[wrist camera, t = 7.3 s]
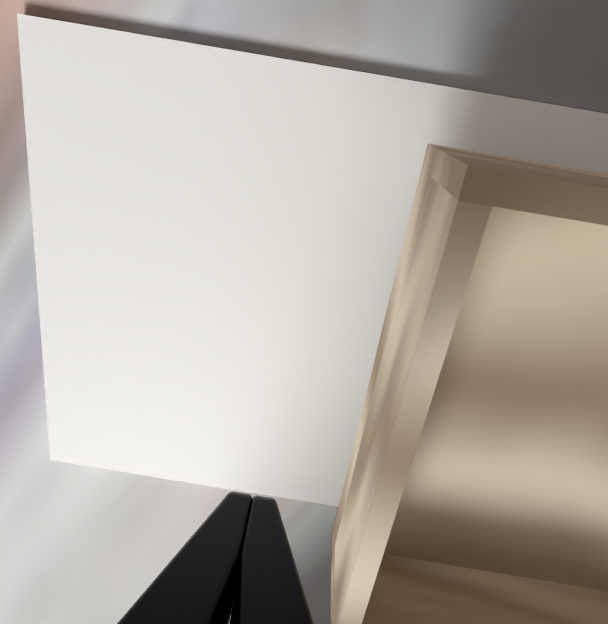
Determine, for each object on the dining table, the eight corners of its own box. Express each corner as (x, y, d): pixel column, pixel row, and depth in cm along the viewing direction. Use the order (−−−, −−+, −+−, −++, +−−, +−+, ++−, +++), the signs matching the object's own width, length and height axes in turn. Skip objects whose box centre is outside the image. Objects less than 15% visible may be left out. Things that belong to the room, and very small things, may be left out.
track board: (759, 570, 21) (767, 579, 20) (54, 454, 20) (49, 461, 20) (1054, 189, 14) (1073, 192, 14) (23, 14, 14) (14, 13, 14)
